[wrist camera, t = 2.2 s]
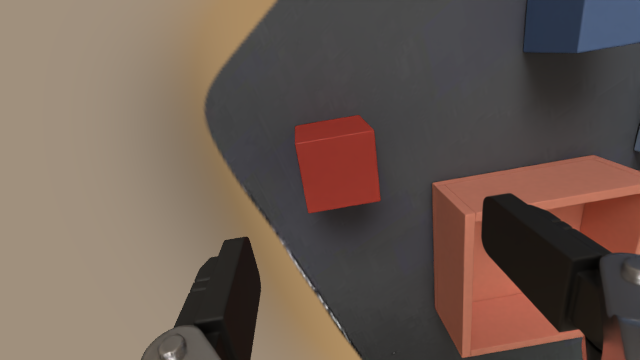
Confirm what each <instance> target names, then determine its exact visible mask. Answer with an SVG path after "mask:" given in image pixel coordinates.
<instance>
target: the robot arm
mask: <svg viewBox="0 0 640 360" xmlns="http://www.w3.org/2000/svg"><path fill="white" fill-rule="evenodd" d="M481 239H482V244H483V247H484V249H485V251H486V253H487V254H488V256H489V257H490V258H491V259H492V260H493V261H494V262H495V263H496V264H497V265H498V267H499V268H500V269H501V270H502V271H503V272H504V273H505V274H506V275H507V276H508V277H509V278H510V280H511V281H512V282H513V283H514V284H515V285H516V286H517V287H518V288H519V289H520V290H521V292H522V293H523V294H524V295H525V296H526V297H527V298H528V299H529V300H530V301H531V302H532V303H533V305H534V306H535V307H536V308H537V309H538V310H539V311H540V312H541V313H542V314H543V315H544V317H545V318H546V319H547V320H548V321H549V322H550V323H551V324H552V325H553V326H554V327H555V328H556V330H557V331H558V332H559V333H560V332H566V331H572V330H578V329H579V330H580V331H581V332H582V333H583V334H584V335H583V340H582V356H583V360H640V255H638V254H633V253H622V252H620V253H612V252H610V251H609V250H607V249H606V248H604V247H603V246H601V245H599V244H598V243H596V242H595V241H593V240H592V239H590V238H589V237H587V236H586V235H584V234H583V233H581V232H579V231H578V230H576V229H573V228H572V226H570V225H569V224H567V223H566V222H564V221H561V219H559V218H558V217H556V216H555V215H553V214H552V213H550V212H549V211H547V210H544V209H541V208H539V207H536V206H533V205H530V204H529V205H528V204H527V203H525V202H524V201H522V200H521V199H519V198H518V197H516V196H515V195H513V194H512V193H505V194H499V195H493V196H487V197H485V198H484V200H483V209H482V231H481ZM260 292H261V282H260V276H259V271H258V268H257V264H256V261H255V257H254V254H253V250H252V247H251V243H250V240H249V238H248V237H242V238H235V239H230V240H225V241H224V243H223V245H222V248H221V250H220V253H219V256H217V257H211V258H210V259H209V260H208V261H207V262H206V263H205V264H204V265H203V266H202V267H201V268H200V270H199V272H198V274H197V276H196V279H195V283H193V285H192V288H191V290H190V293H189V294H188V297H187V299H186V301H185V303H184V306H183V308H182V310H181V312H180V314H179V317H178V319H177V321H176V323H175V326H174V328H173V329H171V330H168V331H167V332H165V333H163V334H162V335H160V336H159V337H158V338H156V339H155V340H154V341H153V342H152V343H151V344H150V345H149V346H148V348H147V349H146V350H145V352H144V354H143V356H142V358H141V360H250V358H251V352H252V345H253V339H254V332H255V326H256V319H257V312H258V306H259V300H260Z"/></svg>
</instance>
